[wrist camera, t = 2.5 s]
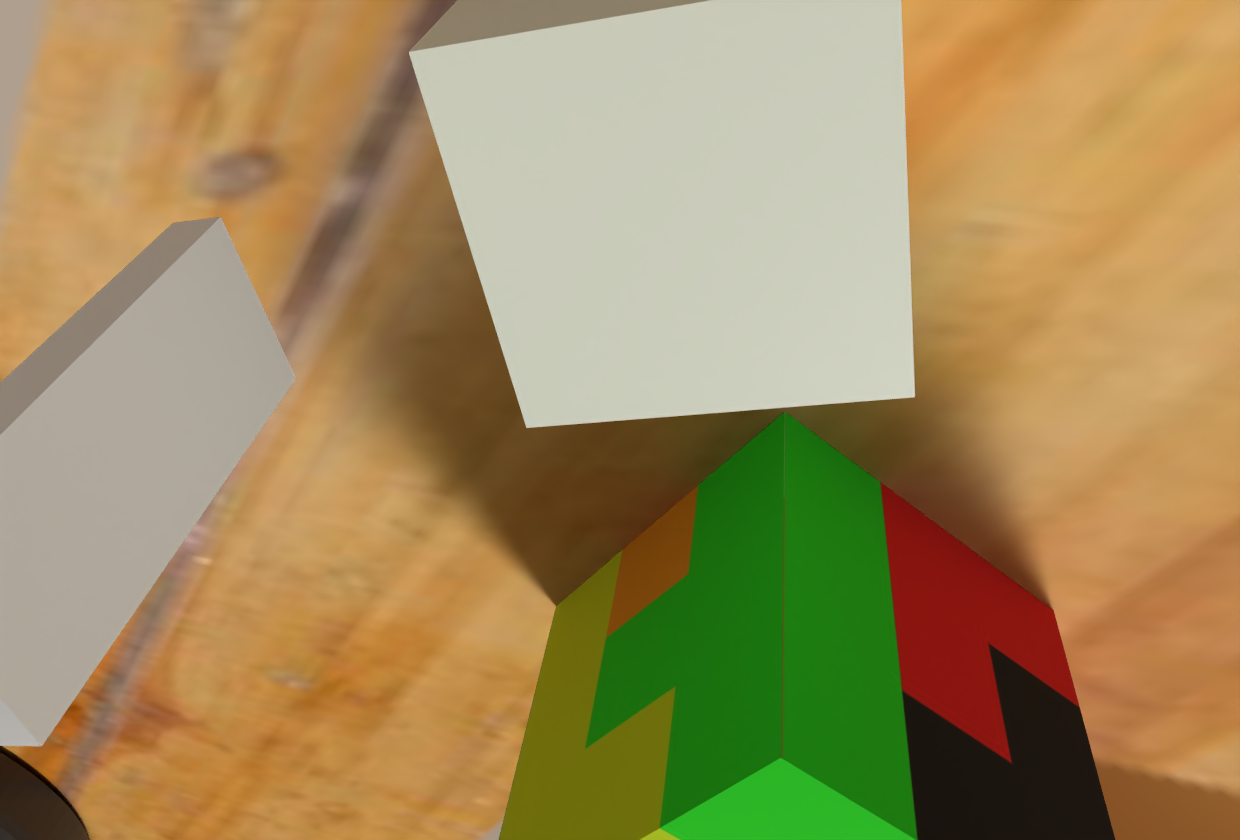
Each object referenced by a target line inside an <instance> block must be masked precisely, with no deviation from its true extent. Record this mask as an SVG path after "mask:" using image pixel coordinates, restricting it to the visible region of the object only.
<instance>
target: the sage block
mask: <svg viewBox="0 0 1240 840" xmlns="http://www.w3.org/2000/svg"><path fill="white" fill-rule="evenodd" d="M409 55H410V58H411V61H412V64H413V68H414V71H415V74H416V77H417V80H418V84H419V87H420V90H421V93H422V96H423V99H424V103H425V106H426V109H427V112H428V115H429V119H430V122H431V125H432V128H433V131H434V135H435V138H436V141H437V144H438V147H439V150H440V154H441V157H442V160H443V163H444V166H445V170H446V173H447V176H448V179H449V182H450V186H451V189H452V192H453V195H454V198H455V202H456V205H457V208H458V211H459V214H460V217H461V221H462V224H463V227H464V230H465V233H466V237H467V240H468V243H469V246H470V249H471V253H472V256H473V259H474V262H475V265H476V268H477V272H478V275H479V278H480V281H481V284H482V288H483V291H484V294H485V297H486V300H487V304H488V307H489V310H490V313H491V316H492V319H493V323H494V326H495V329H496V332H497V335H498V339H499V342H500V345H501V348H502V351H503V355H504V358H505V361H506V364H507V367H508V370H509V374H510V377H511V380H512V383H513V386H514V390H515V393H516V396H517V399H518V402H519V406H520V409H521V412H522V415H523V418H524V421H525V425H526V428H533V427H545V426H558V425H571V424H583V423H596V422H608V421H621V420H634V419H646V418H659V417H672V416H684V415H697V414H710V413H722V412H735V411H747V410H760V409H773V408H785V407H798V406H811V405H823V404H836V403H848V402H861V401H874V400H886V399H899V398H912V397H915V383H914V354H913V325H912V297H911V268H910V240H909V211H908V182H907V154H906V125H905V96H904V68H903V39H902V11H901V0H457V1H456V2H455V3H454V4H453V5H452V6H451V7H450V9H449V10H448V11H447V12H446V13H445V14H444V15H443V16H442V17H441V18H440V19H439V20H438V21H437V22H436V23H435V24H434V26H433V27H432V28H431V29H430V30H429V31H428V32H427V33H426V34H425V35H424V36H423V37H422V38H421V39H420V40H419V41H418V43H417V44H416V45H415V46H414V47H413V48H412V49H411V50H410V51H409Z"/></svg>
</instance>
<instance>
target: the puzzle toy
mask: <svg viewBox="0 0 1240 840" xmlns="http://www.w3.org/2000/svg"><path fill="white" fill-rule="evenodd" d="M499 840H1115V837H1114V833H1113V830H1112V826H1111V822H1110V818H1109V815H1108V811H1107V807H1106V804H1105V800H1104V796H1103V792H1102V789H1101V785H1100V781H1099V778H1098V774H1097V770H1096V766H1095V763H1094V759H1093V755H1092V752H1091V748H1090V744H1089V740H1088V737H1087V733H1086V729H1085V726H1084V722H1083V718H1082V714H1081V711H1080V707H1079V703H1078V700H1077V696H1076V692H1075V688H1074V685H1073V681H1072V677H1071V674H1070V670H1069V666H1068V662H1067V659H1066V655H1065V651H1064V648H1063V644H1062V640H1061V636H1060V633H1059V629H1058V625H1057V622H1056V618H1055V614H1054V611H1053V610H1052V609H1051V608H1049V607H1048V606H1047V605H1045V604H1044V603H1043V602H1041V601H1040V600H1039V599H1037V598H1036V597H1035V596H1033V595H1032V594H1030V593H1029V592H1028V591H1026V590H1025V589H1024V588H1022V587H1021V586H1020V585H1018V584H1017V583H1016V582H1014V581H1013V580H1012V579H1010V578H1009V577H1008V576H1006V575H1005V574H1003V573H1002V572H1001V571H999V570H998V569H997V568H995V567H994V566H993V565H991V564H990V563H989V562H987V561H986V560H985V559H983V558H982V557H980V556H979V555H978V554H976V553H975V552H974V551H972V550H971V549H970V548H968V547H967V546H966V545H964V544H963V543H962V542H960V541H959V540H958V539H956V538H955V537H953V536H952V535H951V534H949V533H948V532H947V531H945V530H944V529H943V528H941V527H940V526H939V525H937V524H936V523H935V522H933V521H932V520H930V519H929V518H928V517H926V516H925V515H924V514H922V513H921V512H920V511H918V510H917V509H916V508H914V507H913V506H912V505H910V504H909V503H908V502H906V501H905V500H903V499H902V498H901V497H899V496H898V495H897V494H895V493H894V492H893V491H891V490H890V489H889V488H887V487H886V486H885V485H883V484H882V483H880V482H879V481H878V480H876V479H875V478H874V477H872V476H871V475H870V474H868V473H867V472H866V471H864V470H863V469H862V468H860V467H859V466H858V465H856V464H855V463H853V462H852V461H851V460H849V459H848V458H847V457H845V456H844V455H843V454H841V453H840V452H839V451H837V450H836V449H835V448H833V447H832V446H830V445H829V444H828V443H826V442H825V441H824V440H822V439H821V438H820V437H818V436H817V435H816V434H814V433H813V432H812V431H810V430H809V429H807V428H806V427H805V426H803V425H802V424H801V423H799V422H798V421H797V420H795V419H794V418H793V417H791V416H790V415H789V414H787V413H786V412H784V413H783V414H781V415H780V416H779V417H778V418H777V419H776V420H774V421H773V422H772V423H771V424H770V425H768V426H767V427H766V428H765V429H764V430H763V431H761V432H760V433H759V434H758V435H757V436H756V437H754V438H753V439H752V440H751V441H750V442H748V443H747V444H746V445H745V446H744V447H743V448H741V449H740V450H739V451H738V452H737V453H736V454H734V455H733V456H732V457H731V458H730V459H728V460H727V461H726V462H725V463H724V464H723V465H721V466H720V467H719V468H718V469H717V470H716V471H714V472H713V473H712V474H711V475H710V476H708V477H707V478H706V479H705V480H704V481H703V482H701V483H700V484H699V485H698V486H697V487H696V488H694V489H693V490H692V491H691V492H690V493H689V494H687V495H686V496H685V497H684V498H683V499H681V500H680V501H679V502H678V503H677V504H676V505H674V506H673V507H672V508H671V509H670V510H669V511H667V512H666V513H665V514H664V515H663V516H661V517H660V518H659V519H658V520H657V521H656V522H654V523H653V524H652V525H651V526H650V527H649V528H647V529H646V530H645V531H644V532H643V533H641V534H640V535H639V536H638V537H637V538H636V539H634V540H633V541H632V542H631V543H630V544H629V545H627V546H626V547H625V548H624V549H623V550H622V551H620V552H619V553H618V554H617V555H616V556H614V557H613V558H612V559H611V560H610V561H609V562H607V563H606V564H605V565H604V566H603V567H602V568H600V569H599V570H598V571H597V572H596V573H594V574H593V575H592V576H591V577H590V578H589V579H587V580H586V581H585V582H584V583H583V584H582V585H580V586H579V587H578V588H577V589H576V590H574V591H573V592H572V593H571V594H570V595H569V596H567V597H566V598H565V599H564V600H563V601H562V602H560V603H559V604H558V605H557V606H556V609H555V613H554V617H553V621H552V625H551V629H550V633H549V637H548V641H547V645H546V649H545V654H544V658H543V662H542V666H541V670H540V674H539V678H538V682H537V686H536V690H535V694H534V698H533V702H532V706H531V710H530V714H529V719H528V723H527V727H526V731H525V735H524V739H523V743H522V747H521V751H520V755H519V759H518V763H517V767H516V771H515V775H514V780H513V784H512V788H511V792H510V796H509V800H508V804H507V808H506V812H505V816H504V820H503V824H502V828H501V832H500V836H499Z"/></svg>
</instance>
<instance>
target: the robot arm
mask: <svg viewBox="0 0 1240 840" xmlns="http://www.w3.org/2000/svg"><path fill="white" fill-rule="evenodd" d="M295 379H296V377H295V375H294V373H293V371H292V369H291V366H290V364H289V362H288V360H287V358H286V356H285V354H284V351H283V349H282V347H281V345H280V343H279V341H278V339H277V336H276V334H275V332H274V330H273V328H272V326H271V324H270V321H269V319H268V317H267V315H266V313H265V311H264V308H263V306H262V304H261V302H260V300H259V298H258V296H257V293H256V291H255V289H254V287H253V285H252V283H251V281H250V278H249V276H248V274H247V272H246V270H245V268H244V266H243V263H242V261H241V259H240V257H239V255H238V253H237V251H236V248H235V246H234V244H233V242H232V240H231V238H230V236H229V233H228V231H227V229H226V227H225V225H224V223H223V221H222V218H221V217H215V218H208V219H200V220H192V221H185V222H177V223H173V224H171V225H170V226H169V227H168V228H167V229H166V230H165V231H164V232H163V233H162V234H161V235H160V236H159V237H157V238H156V239H155V240H154V241H153V242H152V243H151V244H150V245H149V246H148V247H147V248H146V249H144V250H143V251H142V252H141V253H140V254H139V255H138V256H137V257H136V258H135V259H134V260H133V261H132V262H130V263H129V264H128V265H127V266H126V267H125V268H124V269H123V270H122V271H121V272H120V273H119V274H117V275H116V276H115V277H114V278H113V279H112V280H111V281H110V282H109V283H108V284H107V285H106V286H104V287H103V288H102V289H101V290H100V291H99V292H98V293H97V294H96V295H95V296H94V297H93V298H92V299H90V300H89V301H88V302H87V303H86V304H85V305H84V306H83V307H82V308H81V309H80V310H79V311H77V312H76V313H75V314H74V315H73V316H72V317H71V318H70V319H69V320H68V321H67V322H66V323H64V324H63V325H62V326H61V327H60V328H59V329H58V330H57V331H56V332H55V333H54V334H53V335H52V336H50V337H49V338H48V339H47V340H46V341H45V342H44V343H43V344H42V345H41V346H40V347H39V348H37V349H36V350H35V351H34V352H33V353H32V354H31V355H30V356H29V357H28V358H27V359H26V360H24V361H23V362H22V363H21V364H20V365H19V366H18V367H17V368H16V369H15V370H14V371H13V372H12V373H10V374H9V375H8V376H7V377H6V378H5V379H4V380H3V381H2V382H1V383H0V746H42V745H43V744H44V742H45V741H46V739H47V738H48V737H49V735H50V734H51V732H52V731H53V729H54V728H55V726H56V725H57V723H58V722H59V721H60V719H61V718H62V716H63V715H64V713H65V712H66V710H67V709H68V708H69V706H70V705H71V703H72V702H73V700H74V699H75V697H76V696H77V695H78V693H79V692H80V690H81V689H82V687H83V686H84V684H85V683H86V682H87V680H88V679H89V677H90V676H91V674H92V673H93V671H94V670H95V669H96V667H97V666H98V664H99V663H100V661H101V660H102V658H103V657H104V656H105V654H106V653H107V651H108V650H109V648H110V647H111V645H112V644H113V643H114V641H115V640H116V638H117V637H118V635H119V634H120V632H121V631H122V630H123V628H124V627H125V625H126V624H127V622H128V621H129V619H130V618H131V616H132V615H133V614H134V612H135V611H136V609H137V608H138V606H139V605H140V603H141V602H142V601H143V599H144V598H145V596H146V595H147V593H148V592H149V590H150V589H151V588H152V586H153V585H154V583H155V582H156V580H157V579H158V577H159V576H160V575H161V573H162V572H163V570H164V569H165V567H166V566H167V564H168V563H169V562H170V560H171V559H172V557H173V556H174V554H175V553H176V551H177V550H178V549H179V547H180V546H181V544H182V543H183V541H184V540H185V538H186V537H187V536H188V534H189V533H190V531H191V530H192V528H193V527H194V525H195V524H196V523H197V521H198V520H199V518H200V517H201V515H202V514H203V512H204V511H205V509H206V508H207V507H208V505H209V504H210V502H211V501H212V499H213V498H214V496H215V495H216V494H217V492H218V491H219V489H220V488H221V486H222V485H223V483H224V482H225V481H226V479H227V478H228V476H229V475H230V473H231V472H232V470H233V469H234V468H235V466H236V465H237V463H238V462H239V460H240V459H241V457H242V456H243V455H244V453H245V452H246V450H247V449H248V447H249V446H250V444H251V443H252V442H253V440H254V439H255V437H256V436H257V434H258V433H259V431H260V430H261V429H262V427H263V426H264V424H265V423H266V421H267V420H268V418H269V417H270V416H271V414H272V413H273V411H274V410H275V408H276V407H277V405H278V404H279V402H280V401H281V400H282V398H283V397H284V395H285V394H286V392H287V391H288V389H289V388H290V387H291V385H292V384H293V382H294V381H295ZM0 840H89V837H88V835H87V833H86V831H85V829H84V827H83V826H82V824H81V822H80V821H79V819H78V818H77V817H76V815H75V814H74V813H73V812H72V810H71V809H70V808H69V807H68V806H67V805H66V803H65V802H64V801H63V800H62V799H61V798H60V797H59V796H58V795H57V794H56V793H55V792H54V791H52V790H51V789H50V788H49V787H48V786H47V785H46V784H44V783H43V782H42V781H41V780H39V779H38V778H37V777H36V776H34V775H33V774H32V773H30V772H29V771H28V770H26V769H25V768H23V767H22V766H21V765H19V764H18V763H16V762H15V761H13V760H12V759H10V758H8V757H7V756H5V755H4V754H2V753H0Z"/></svg>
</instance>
